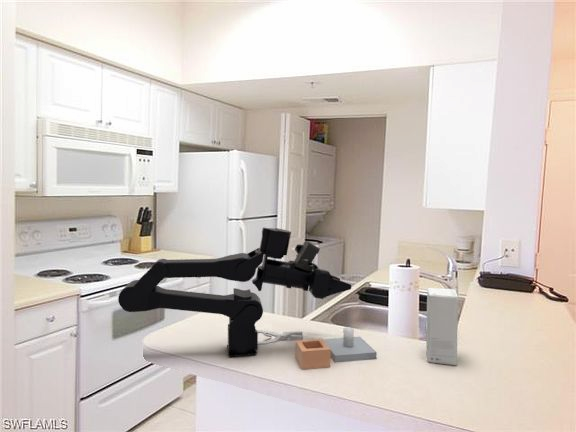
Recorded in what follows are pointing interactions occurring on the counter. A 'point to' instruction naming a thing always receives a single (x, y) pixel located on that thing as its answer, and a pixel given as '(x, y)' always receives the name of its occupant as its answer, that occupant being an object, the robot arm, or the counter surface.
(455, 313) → the skincare box
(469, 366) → the counter surface
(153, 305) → the robot arm
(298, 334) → the pliers
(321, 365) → the collar
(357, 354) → the grey peg base
